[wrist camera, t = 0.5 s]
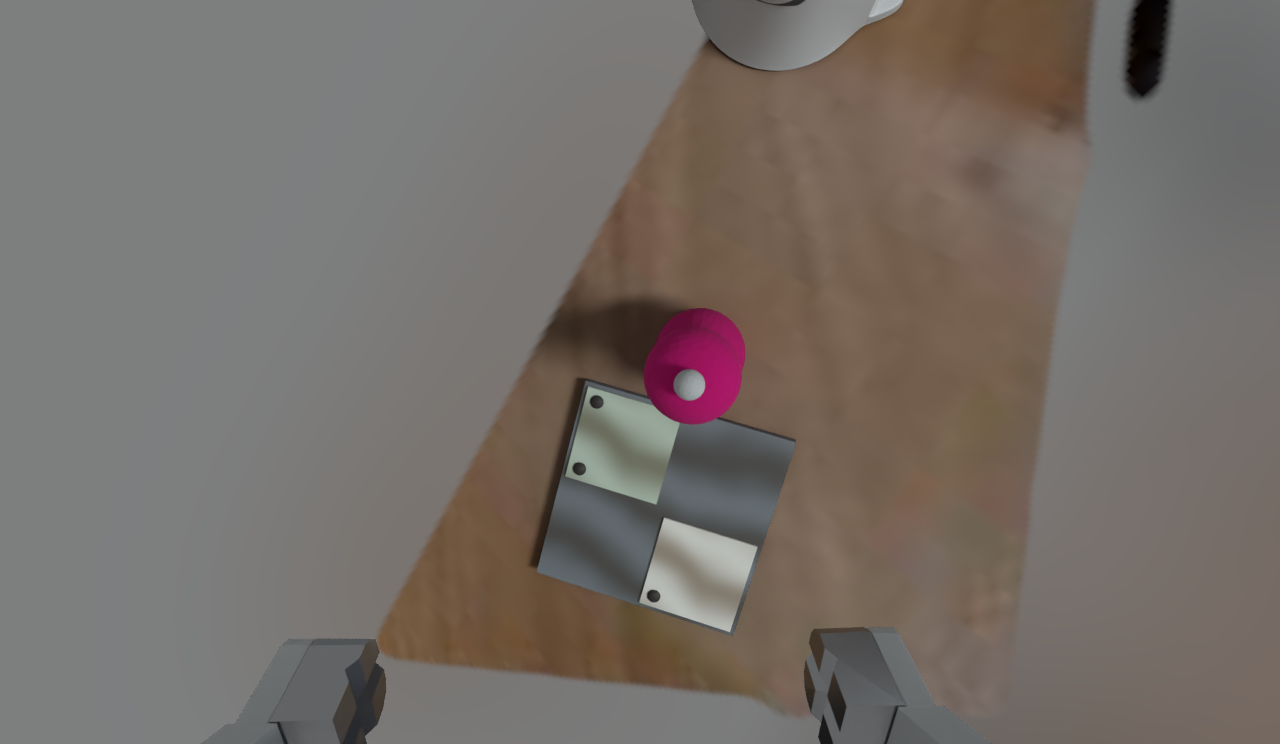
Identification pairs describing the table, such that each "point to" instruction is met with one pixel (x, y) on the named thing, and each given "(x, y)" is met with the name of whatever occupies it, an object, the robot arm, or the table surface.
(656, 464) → the tile board
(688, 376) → the pepper mill
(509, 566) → the table surface
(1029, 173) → the table surface
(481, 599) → the table surface
